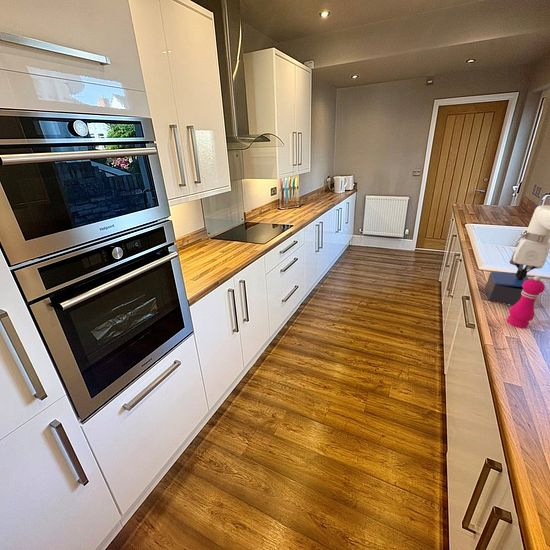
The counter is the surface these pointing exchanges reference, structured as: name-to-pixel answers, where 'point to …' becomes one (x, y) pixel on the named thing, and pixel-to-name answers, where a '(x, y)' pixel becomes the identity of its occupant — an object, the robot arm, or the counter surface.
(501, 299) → the storage box
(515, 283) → the lid
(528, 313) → the pepper mill
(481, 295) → the counter surface
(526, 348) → the counter surface
